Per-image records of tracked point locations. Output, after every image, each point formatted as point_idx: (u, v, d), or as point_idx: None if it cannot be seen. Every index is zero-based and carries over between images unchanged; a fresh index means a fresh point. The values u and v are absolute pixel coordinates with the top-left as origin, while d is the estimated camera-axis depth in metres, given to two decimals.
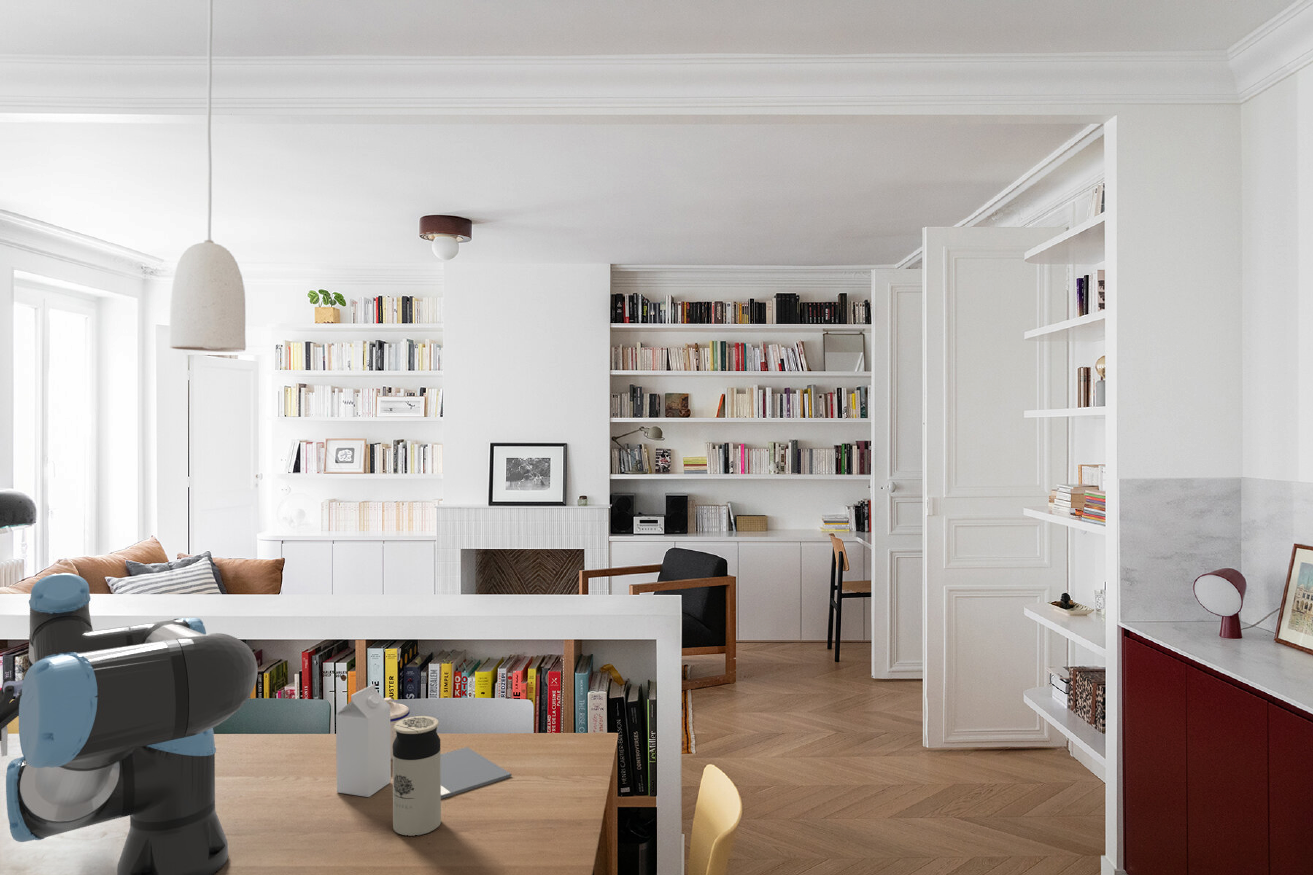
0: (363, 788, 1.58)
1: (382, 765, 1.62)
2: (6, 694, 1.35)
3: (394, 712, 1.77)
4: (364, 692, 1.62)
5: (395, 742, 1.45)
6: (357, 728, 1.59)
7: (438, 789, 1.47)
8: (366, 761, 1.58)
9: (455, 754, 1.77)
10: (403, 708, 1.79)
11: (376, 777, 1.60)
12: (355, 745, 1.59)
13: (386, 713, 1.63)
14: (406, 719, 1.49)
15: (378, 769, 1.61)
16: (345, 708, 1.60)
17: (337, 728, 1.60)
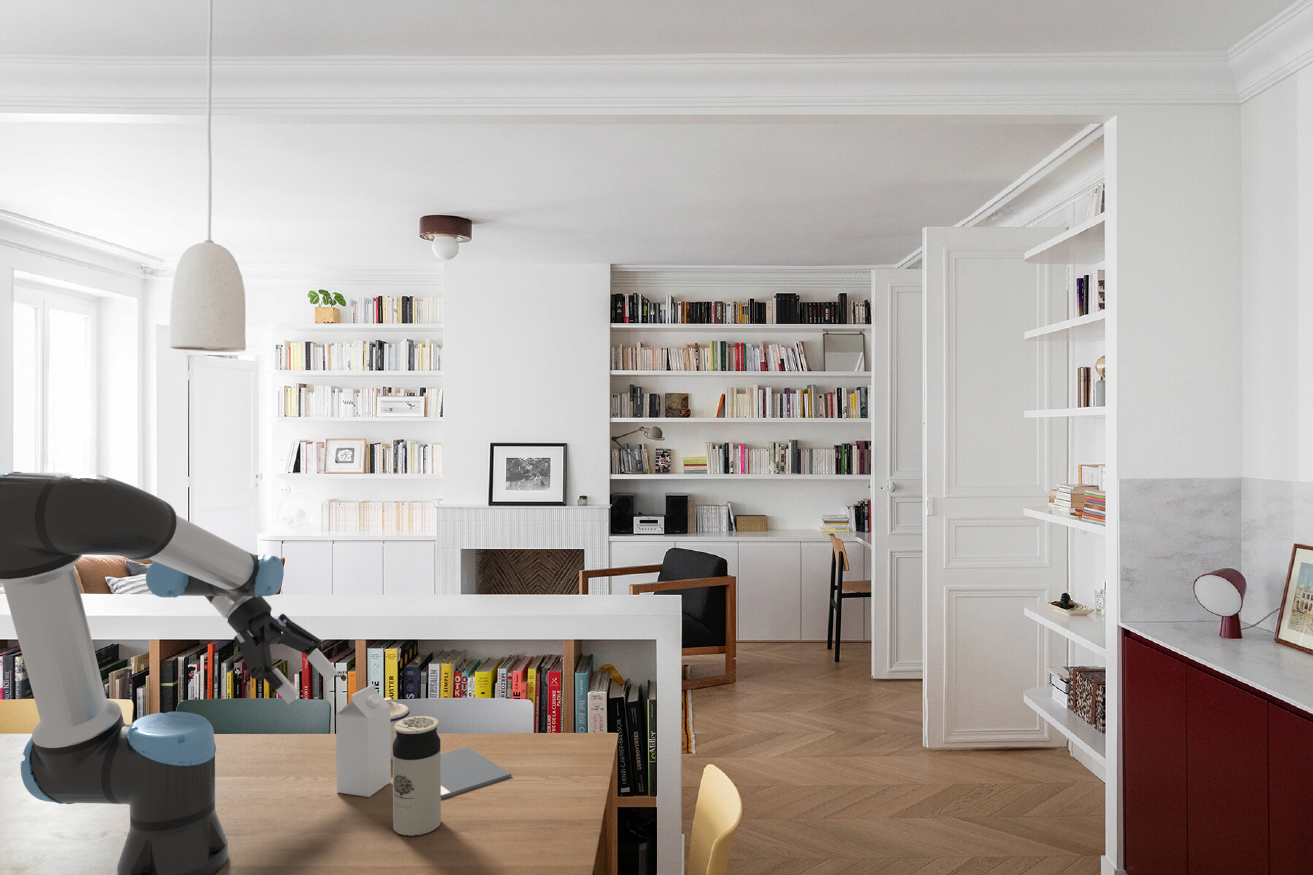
0: (363, 788, 1.58)
1: (382, 765, 1.62)
2: (245, 633, 1.59)
3: (394, 712, 1.77)
4: (364, 692, 1.62)
5: (395, 742, 1.45)
6: (357, 728, 1.59)
7: (438, 789, 1.47)
8: (366, 761, 1.58)
9: (455, 754, 1.77)
10: (403, 708, 1.79)
11: (376, 777, 1.60)
12: (355, 745, 1.59)
13: (386, 713, 1.63)
14: (406, 719, 1.49)
15: (378, 769, 1.61)
16: (345, 708, 1.60)
17: (337, 728, 1.60)
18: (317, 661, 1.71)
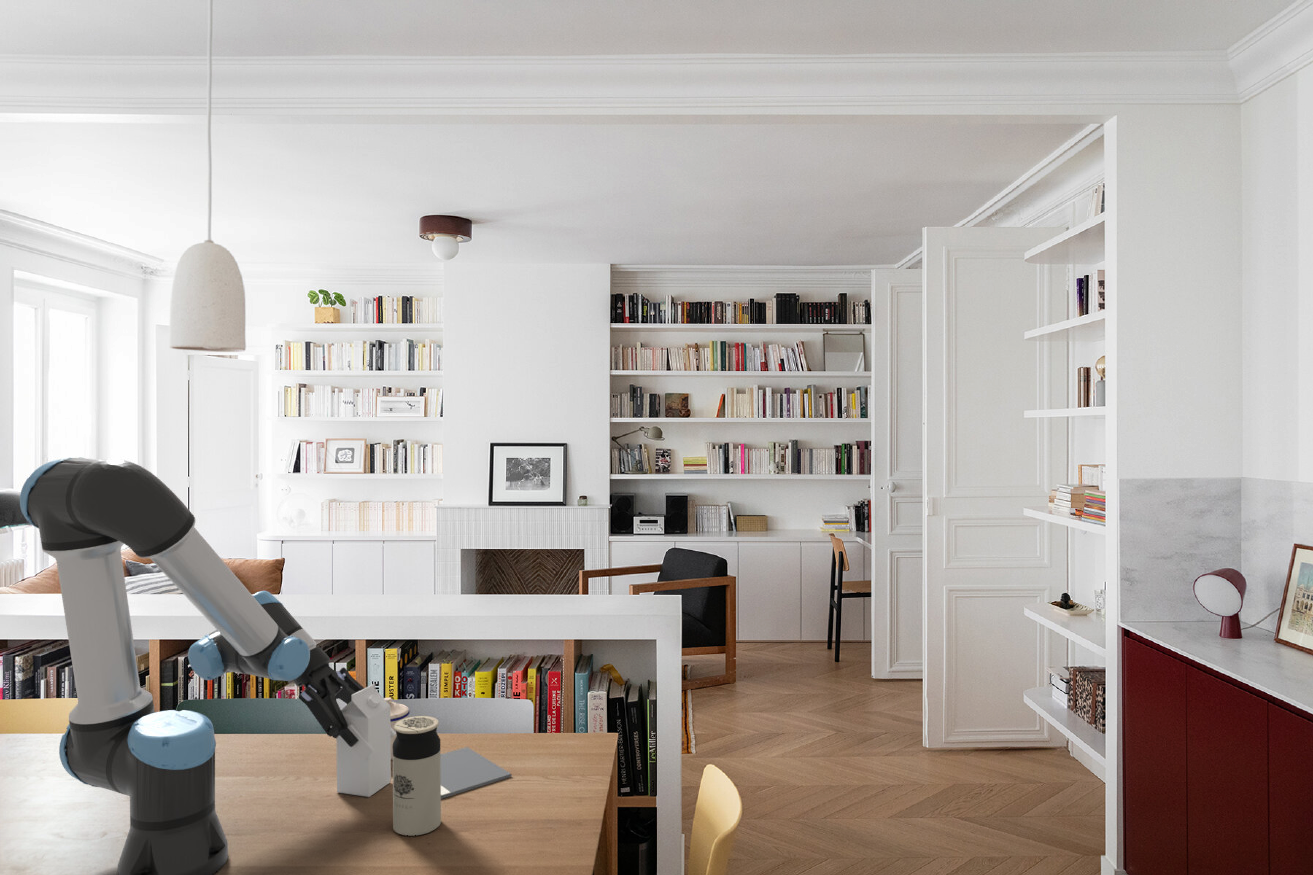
0: (363, 788, 1.58)
1: (382, 764, 1.62)
2: (311, 692, 1.57)
3: (394, 712, 1.77)
4: (364, 692, 1.62)
5: (395, 742, 1.45)
6: (358, 728, 1.59)
7: (438, 789, 1.47)
8: (366, 761, 1.58)
9: (455, 754, 1.77)
10: (403, 708, 1.79)
11: (376, 777, 1.60)
12: None
13: (386, 713, 1.63)
14: (406, 719, 1.49)
15: (378, 769, 1.61)
16: (345, 708, 1.60)
17: None
18: None
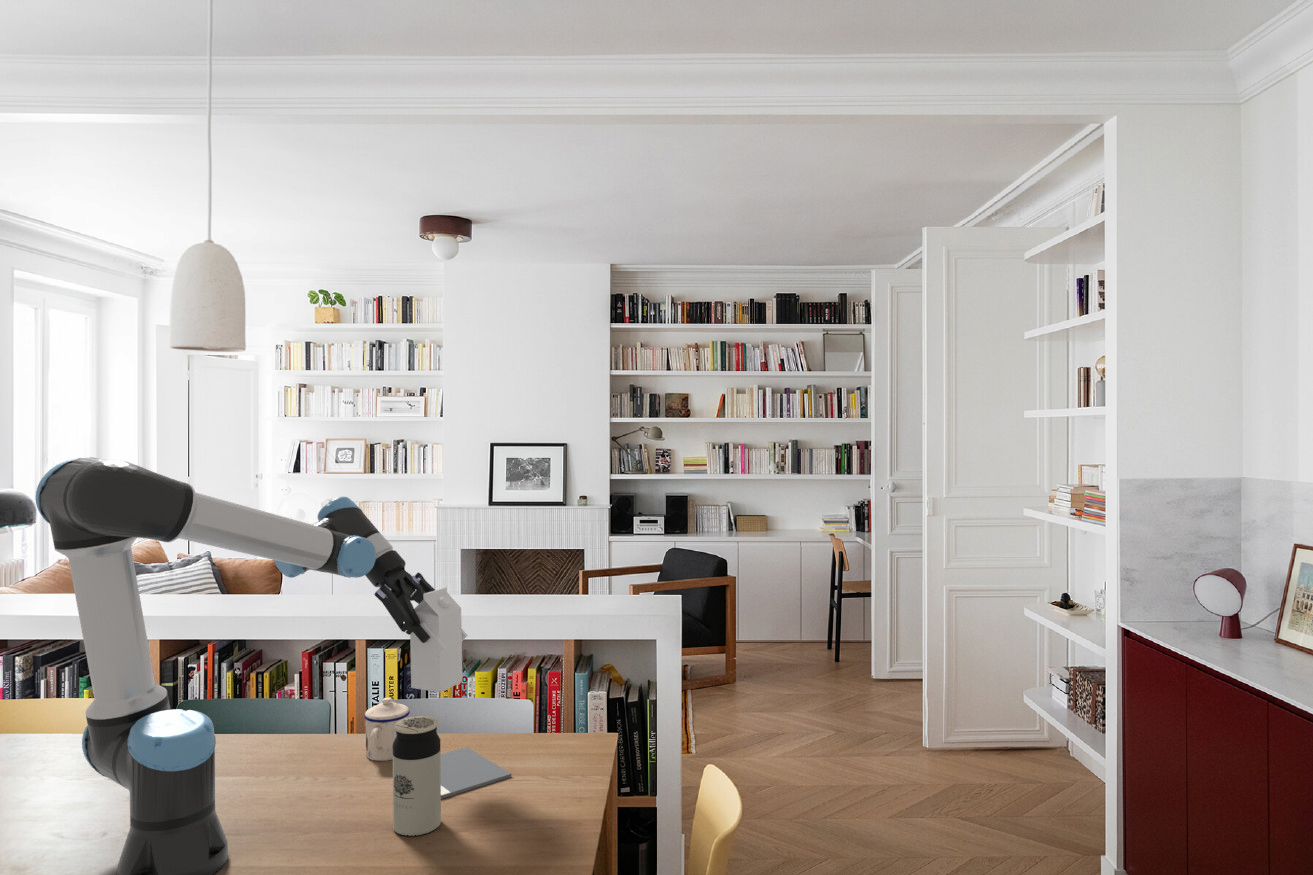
0: (435, 684, 1.64)
1: (454, 663, 1.68)
2: (386, 589, 1.63)
3: (394, 712, 1.77)
4: (436, 593, 1.68)
5: (395, 742, 1.45)
6: (429, 626, 1.64)
7: (438, 789, 1.47)
8: (437, 658, 1.64)
9: (455, 754, 1.77)
10: (403, 708, 1.79)
11: (448, 675, 1.66)
12: None
13: (457, 614, 1.68)
14: (406, 719, 1.49)
15: (449, 667, 1.66)
16: (418, 607, 1.66)
17: None
18: None
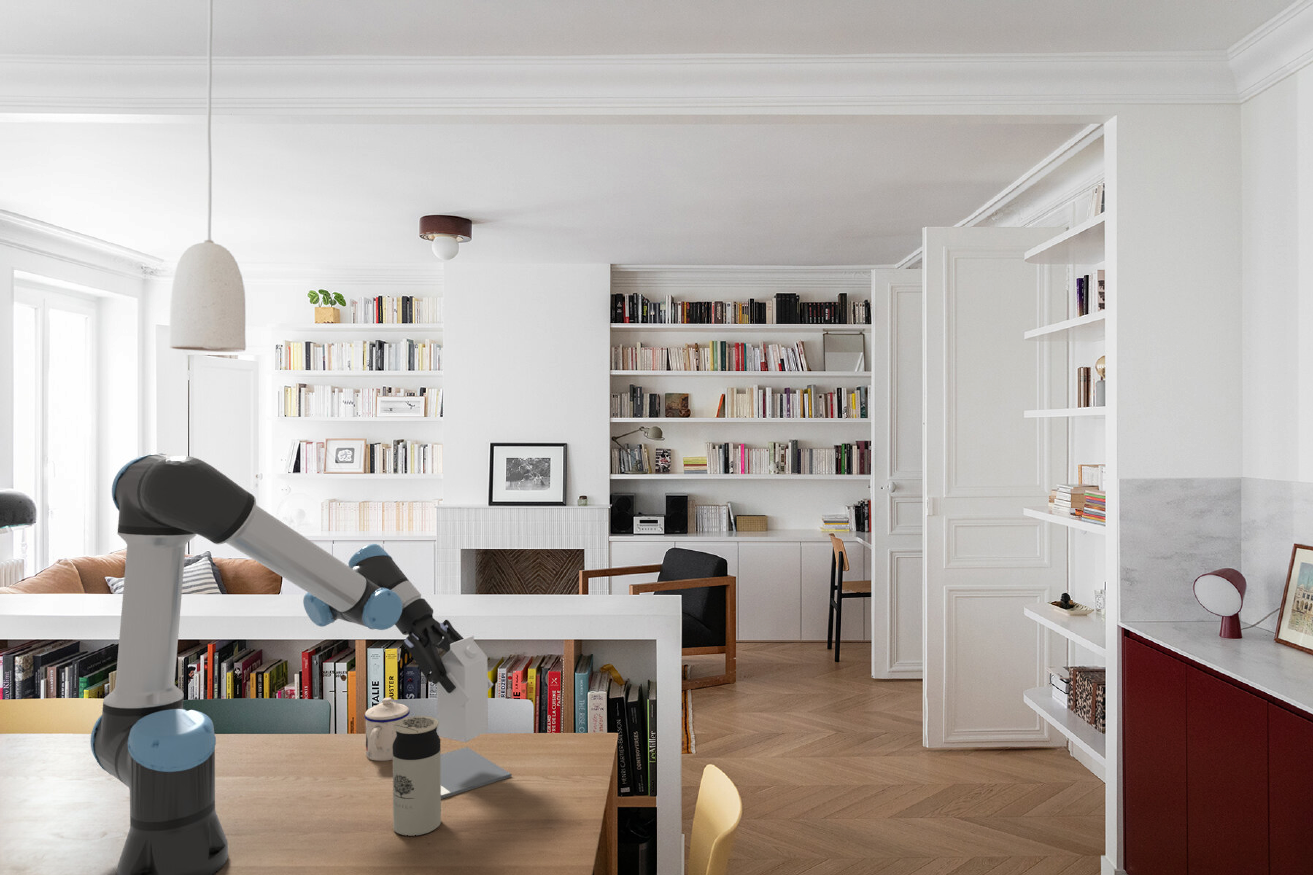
0: (461, 733, 1.65)
1: (480, 713, 1.69)
2: (413, 639, 1.65)
3: (394, 712, 1.77)
4: (463, 643, 1.69)
5: (395, 742, 1.45)
6: (456, 676, 1.66)
7: (438, 789, 1.47)
8: (463, 708, 1.65)
9: (455, 754, 1.77)
10: (403, 708, 1.79)
11: (473, 724, 1.67)
12: None
13: (483, 663, 1.70)
14: (406, 719, 1.49)
15: (475, 717, 1.67)
16: (445, 656, 1.68)
17: None
18: None
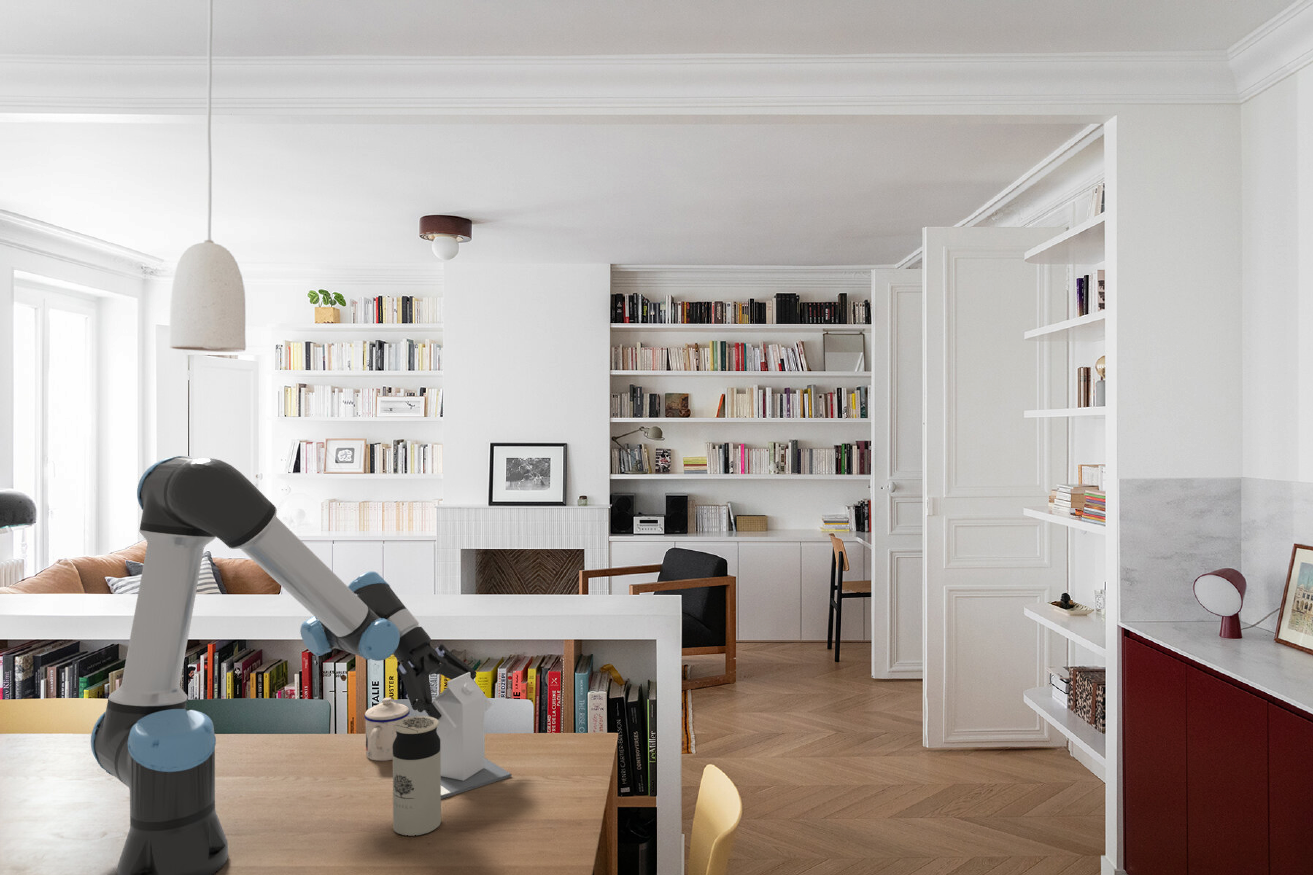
0: (458, 772, 1.64)
1: (477, 750, 1.68)
2: (406, 665, 1.65)
3: (394, 712, 1.77)
4: (460, 679, 1.68)
5: (395, 742, 1.45)
6: (453, 713, 1.64)
7: (438, 789, 1.47)
8: (460, 746, 1.64)
9: None
10: (403, 708, 1.79)
11: (470, 762, 1.66)
12: None
13: (480, 700, 1.69)
14: (406, 719, 1.49)
15: (472, 754, 1.66)
16: (442, 694, 1.67)
17: None
18: None
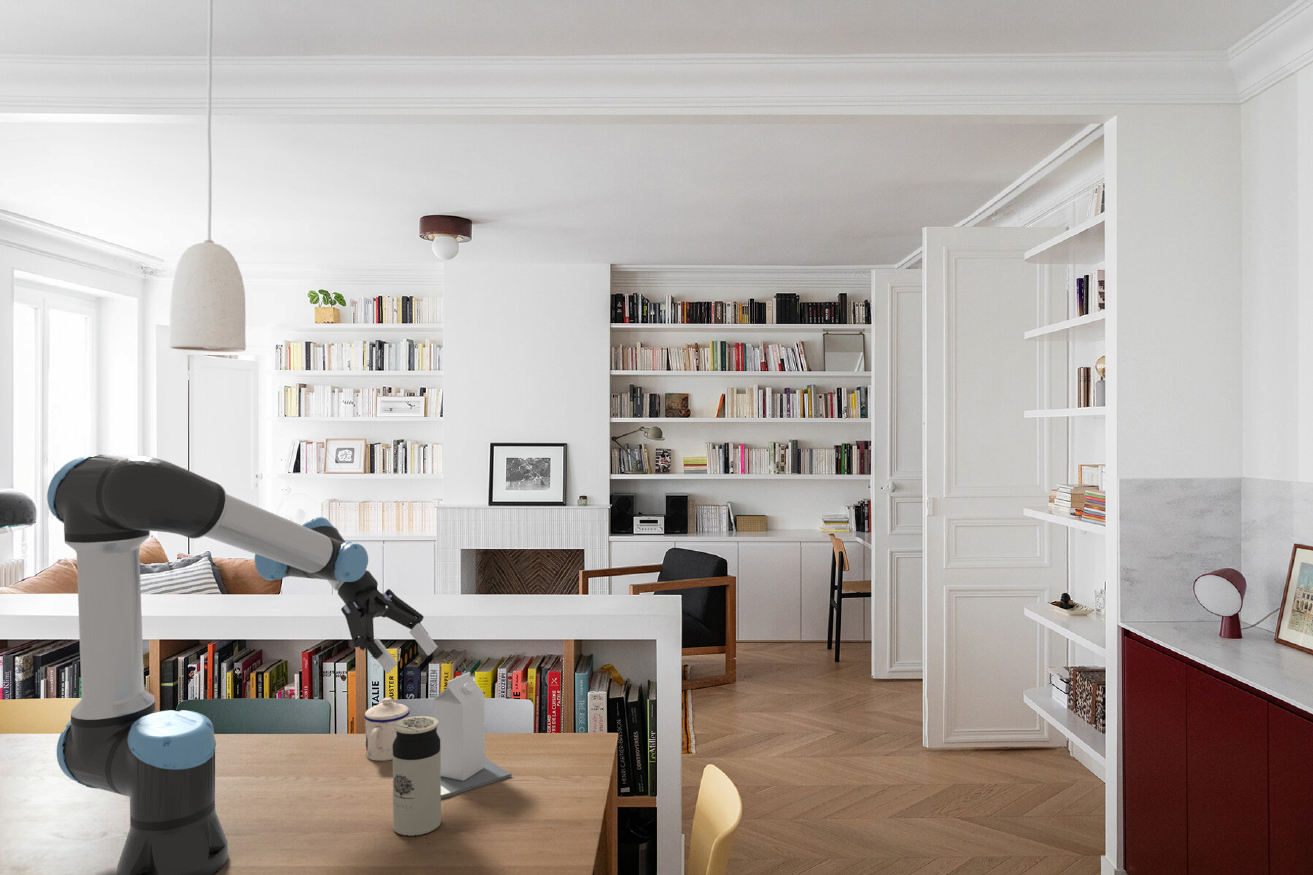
0: (458, 772, 1.64)
1: (477, 750, 1.68)
2: (351, 605, 1.69)
3: (394, 712, 1.77)
4: (459, 679, 1.68)
5: (395, 742, 1.45)
6: (453, 714, 1.64)
7: (438, 789, 1.47)
8: (460, 746, 1.64)
9: None
10: (403, 708, 1.79)
11: (470, 762, 1.66)
12: (451, 730, 1.65)
13: (480, 700, 1.69)
14: (406, 719, 1.49)
15: (472, 754, 1.66)
16: (442, 694, 1.67)
17: (434, 713, 1.66)
18: (418, 635, 1.79)
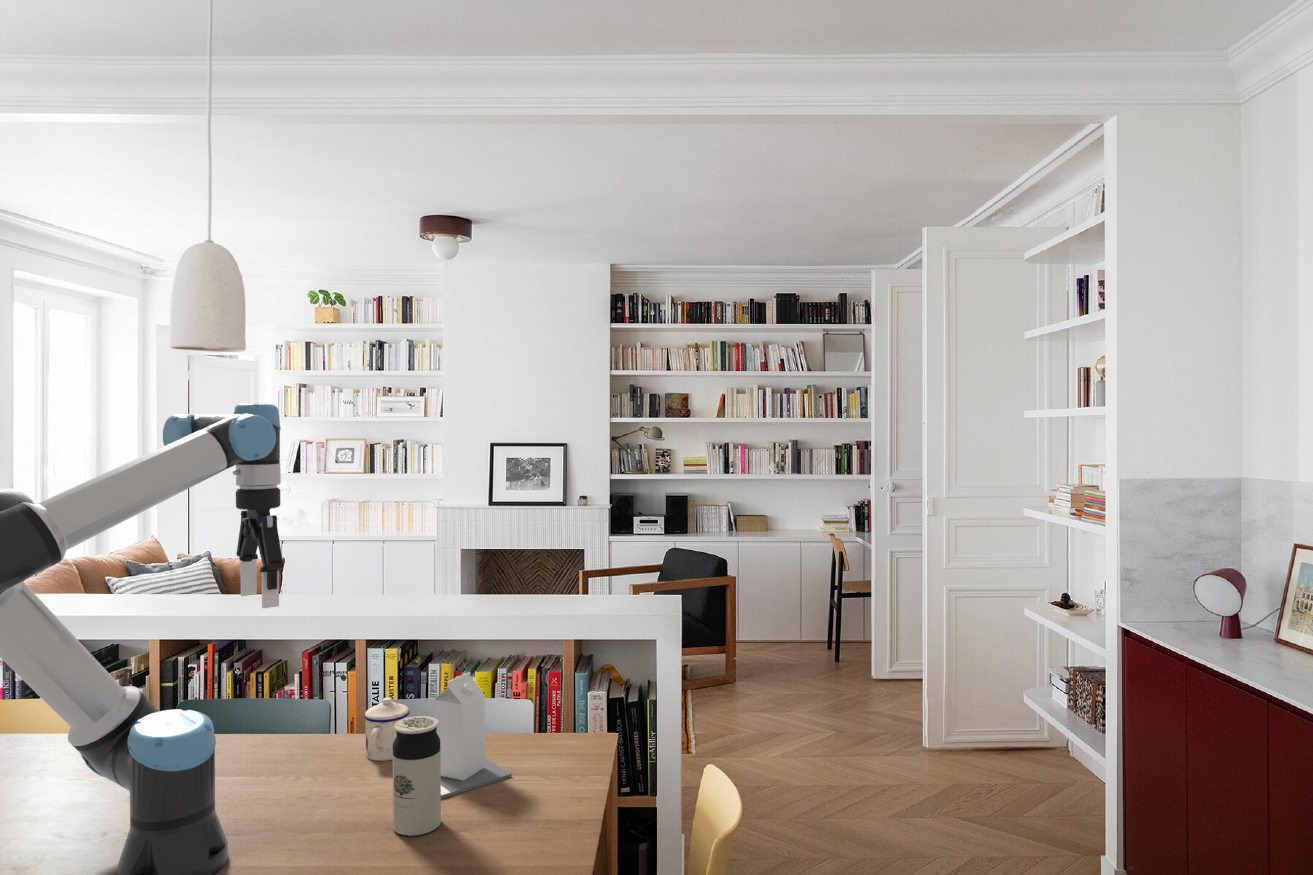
0: (458, 772, 1.64)
1: (477, 750, 1.68)
2: (276, 521, 1.54)
3: (394, 712, 1.77)
4: (460, 679, 1.68)
5: (395, 742, 1.45)
6: (453, 713, 1.64)
7: (438, 789, 1.47)
8: (460, 746, 1.64)
9: None
10: (403, 708, 1.79)
11: (470, 762, 1.66)
12: (451, 730, 1.65)
13: (480, 700, 1.69)
14: (406, 719, 1.49)
15: (472, 754, 1.66)
16: (442, 694, 1.67)
17: (434, 713, 1.66)
18: (248, 572, 1.63)
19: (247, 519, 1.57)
